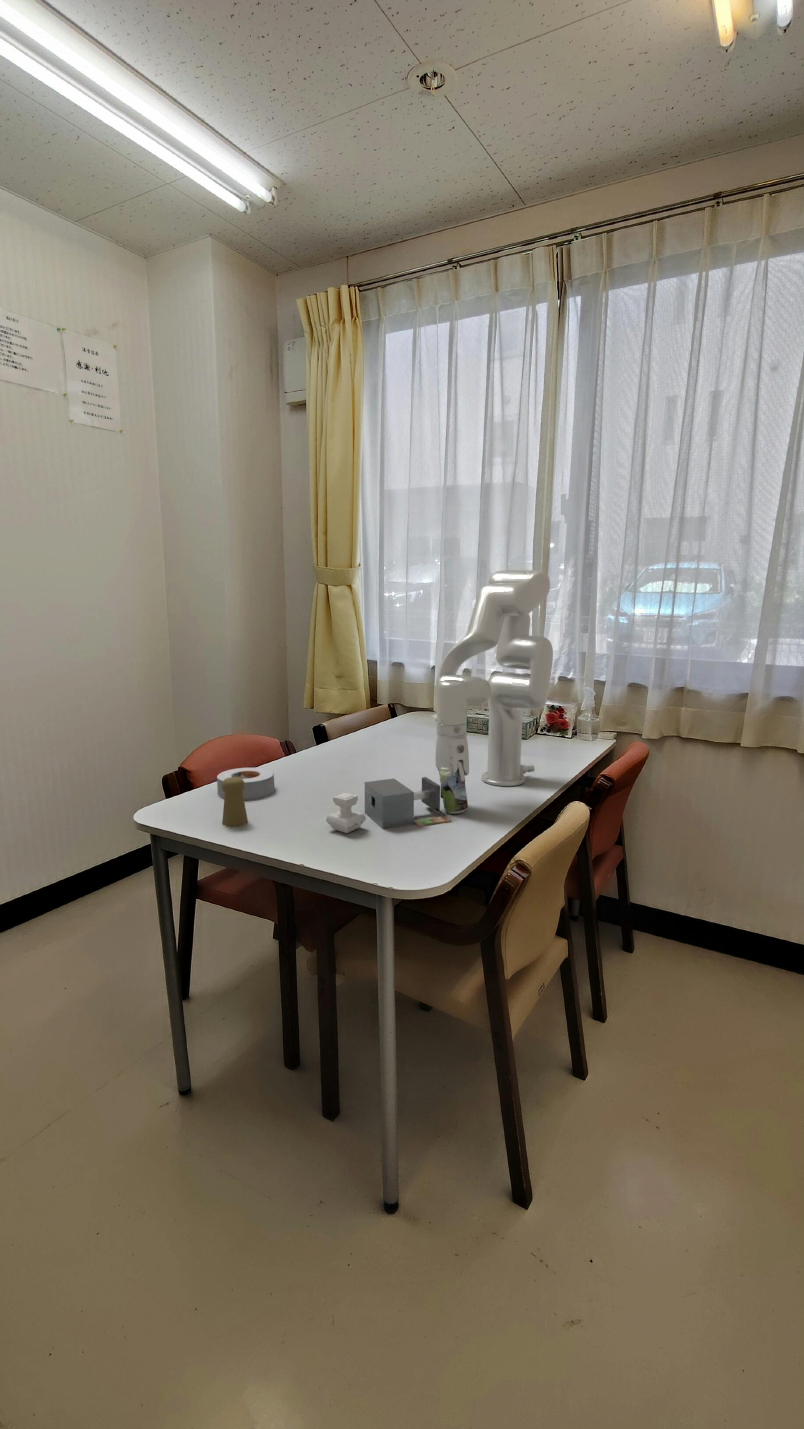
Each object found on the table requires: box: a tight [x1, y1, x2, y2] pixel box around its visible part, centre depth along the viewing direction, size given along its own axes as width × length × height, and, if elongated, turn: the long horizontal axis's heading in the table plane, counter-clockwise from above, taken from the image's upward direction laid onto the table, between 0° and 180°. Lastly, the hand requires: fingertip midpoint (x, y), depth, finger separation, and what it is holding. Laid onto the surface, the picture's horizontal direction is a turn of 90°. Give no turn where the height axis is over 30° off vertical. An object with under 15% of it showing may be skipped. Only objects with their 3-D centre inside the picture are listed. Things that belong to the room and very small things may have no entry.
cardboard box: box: [414, 815, 452, 827], centre depth 158 cm, size 8×3×1 cm, turn 114°
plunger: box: [413, 776, 446, 816], centre depth 161 cm, size 9×11×6 cm
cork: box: [222, 777, 249, 828], centre depth 157 cm, size 6×6×11 cm
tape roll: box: [216, 767, 275, 801], centre depth 181 cm, size 15×15×5 cm
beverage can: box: [439, 767, 469, 814], centre depth 165 cm, size 6×7×12 cm
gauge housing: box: [364, 778, 415, 830], centre depth 160 cm, size 8×12×8 cm, turn 24°
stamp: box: [325, 792, 367, 834], centre depth 153 cm, size 9×7×8 cm
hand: (450, 799), depth 167 cm, fingers closed on beverage can, 3 cm apart
